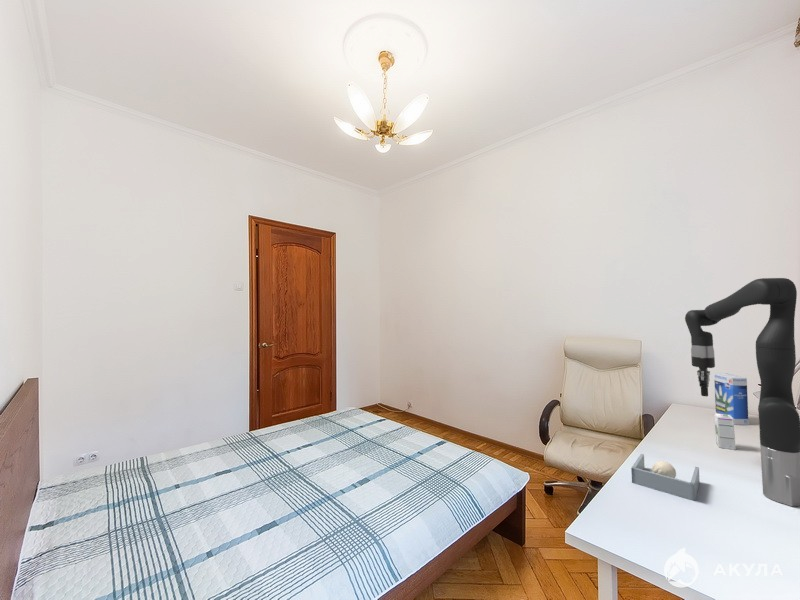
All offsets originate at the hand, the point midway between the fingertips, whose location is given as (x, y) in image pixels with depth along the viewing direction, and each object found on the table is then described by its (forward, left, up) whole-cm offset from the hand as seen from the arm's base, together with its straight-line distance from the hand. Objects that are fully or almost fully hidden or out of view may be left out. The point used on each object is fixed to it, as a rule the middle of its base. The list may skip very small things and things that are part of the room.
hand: (704, 395), depth 146 cm
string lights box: (+40, -59, -27) cm, 76 cm away
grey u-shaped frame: (-15, +34, -27) cm, 46 cm away
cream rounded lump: (-13, +33, -27) cm, 45 cm away
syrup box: (+10, -20, -27) cm, 35 cm away
